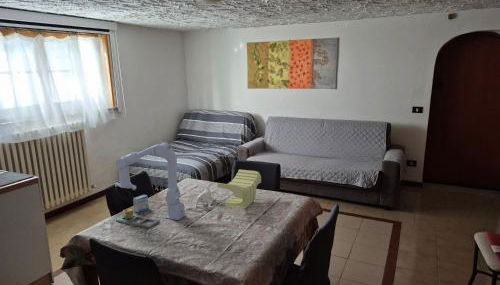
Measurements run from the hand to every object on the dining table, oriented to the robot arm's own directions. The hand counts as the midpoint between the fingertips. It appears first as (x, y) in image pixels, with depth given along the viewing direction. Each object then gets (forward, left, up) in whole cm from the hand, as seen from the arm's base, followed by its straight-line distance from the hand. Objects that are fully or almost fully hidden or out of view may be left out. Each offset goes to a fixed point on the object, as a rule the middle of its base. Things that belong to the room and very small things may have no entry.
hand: (126, 199), depth 198 cm
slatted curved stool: (-54, -42, -11) cm, 69 cm away
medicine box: (-1, -10, -11) cm, 15 cm away
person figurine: (-33, -34, -11) cm, 49 cm away
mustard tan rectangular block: (-4, +4, -10) cm, 12 cm away
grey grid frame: (-11, +4, -10) cm, 16 cm away
